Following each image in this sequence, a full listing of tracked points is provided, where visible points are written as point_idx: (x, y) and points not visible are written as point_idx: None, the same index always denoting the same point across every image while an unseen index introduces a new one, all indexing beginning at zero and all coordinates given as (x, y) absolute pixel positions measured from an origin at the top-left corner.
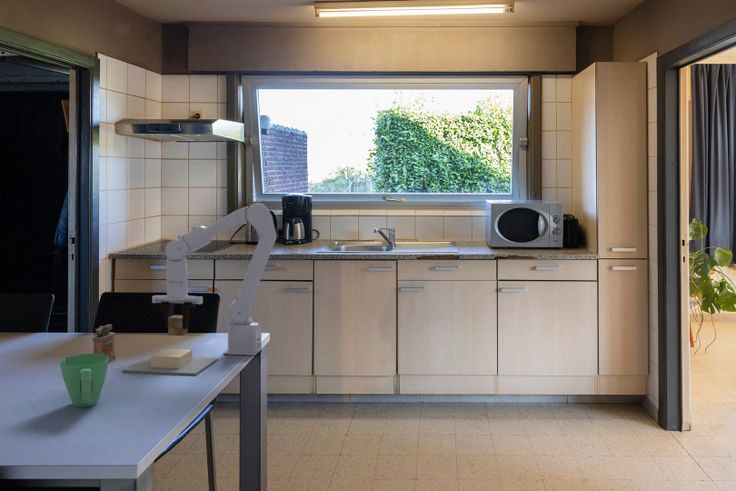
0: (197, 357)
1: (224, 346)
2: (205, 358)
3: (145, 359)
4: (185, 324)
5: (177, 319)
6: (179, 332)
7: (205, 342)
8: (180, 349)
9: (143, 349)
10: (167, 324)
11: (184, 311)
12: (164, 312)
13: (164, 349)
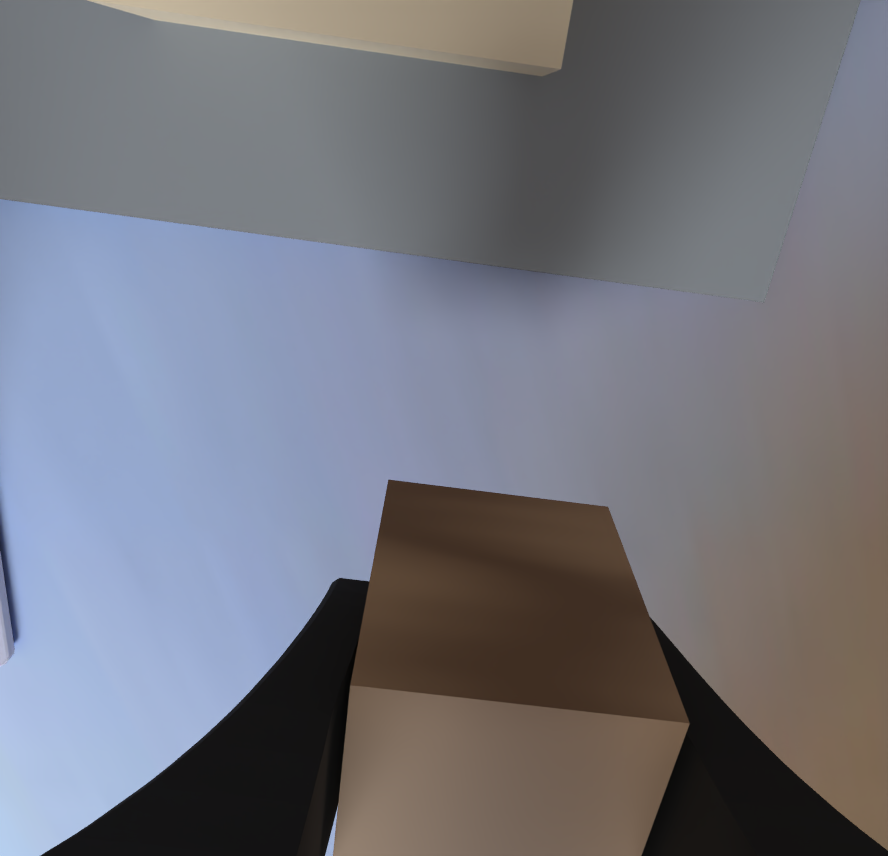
0: (157, 198)
1: (125, 716)
2: (37, 150)
3: (797, 63)
4: (310, 622)
5: (454, 669)
6: (425, 510)
7: None
8: (283, 19)
9: (877, 606)
10: (672, 650)
11: (211, 825)
12: (841, 853)
13: (546, 10)
